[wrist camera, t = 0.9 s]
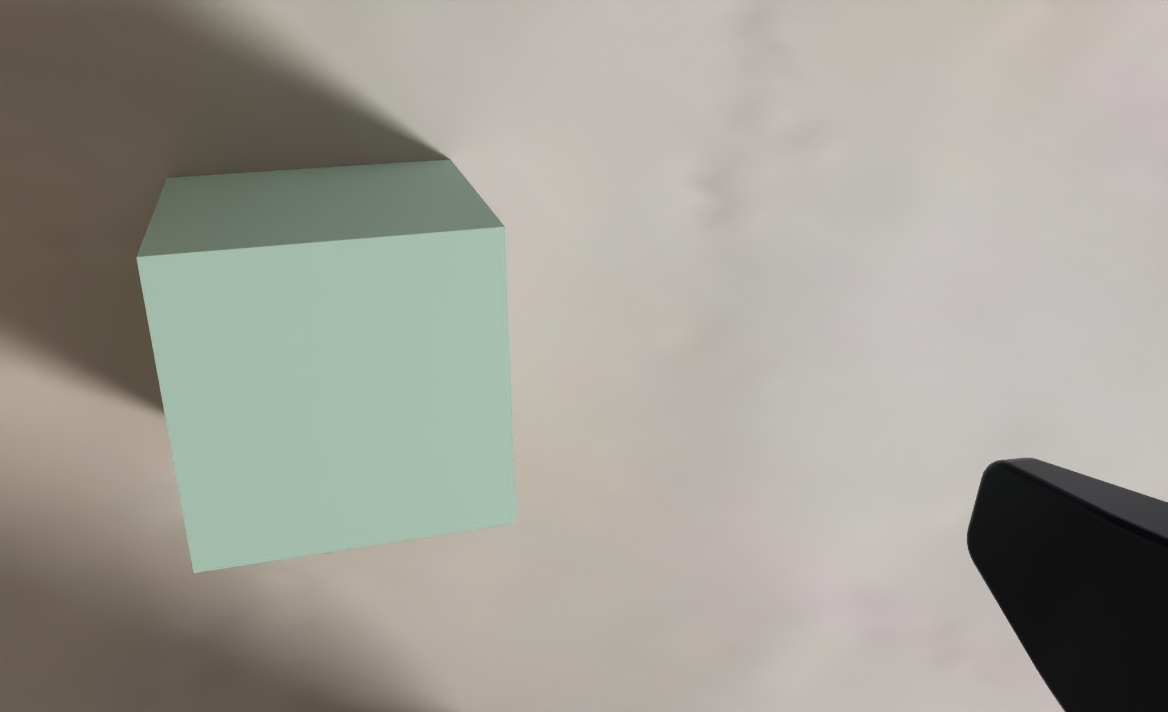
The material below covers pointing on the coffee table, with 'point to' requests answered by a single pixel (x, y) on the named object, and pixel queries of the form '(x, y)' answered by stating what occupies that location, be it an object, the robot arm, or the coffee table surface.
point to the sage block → (330, 357)
